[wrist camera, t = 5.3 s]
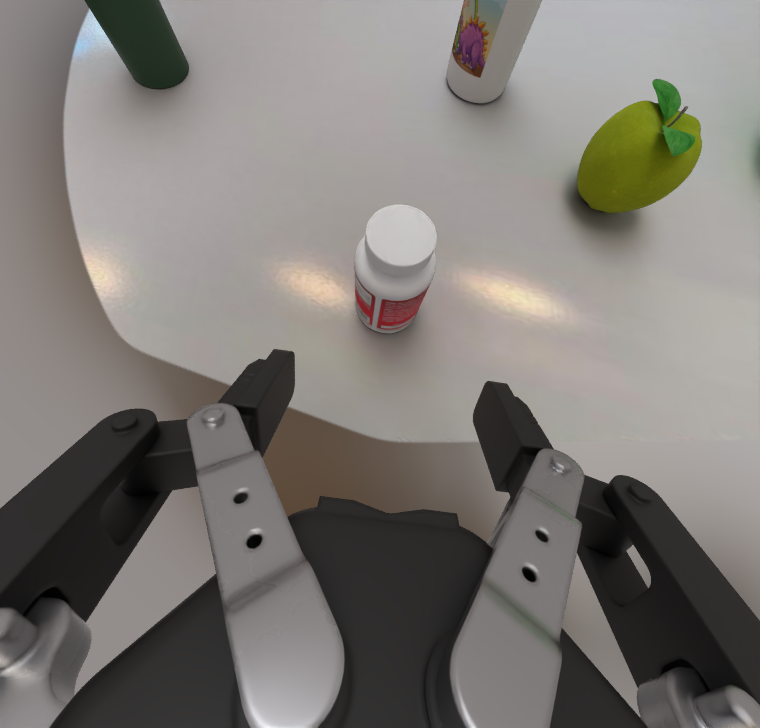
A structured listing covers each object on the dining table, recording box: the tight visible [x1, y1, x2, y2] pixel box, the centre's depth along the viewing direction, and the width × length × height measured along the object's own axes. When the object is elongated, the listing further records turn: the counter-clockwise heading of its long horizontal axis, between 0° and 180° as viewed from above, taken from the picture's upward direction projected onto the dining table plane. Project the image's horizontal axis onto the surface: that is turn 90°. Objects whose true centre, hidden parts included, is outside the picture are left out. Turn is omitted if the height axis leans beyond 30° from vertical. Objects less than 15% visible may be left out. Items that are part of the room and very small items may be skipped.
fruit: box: [577, 79, 702, 213], centre depth 30 cm, size 9×9×10 cm
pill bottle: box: [354, 204, 437, 333], centre depth 24 cm, size 6×6×11 cm
